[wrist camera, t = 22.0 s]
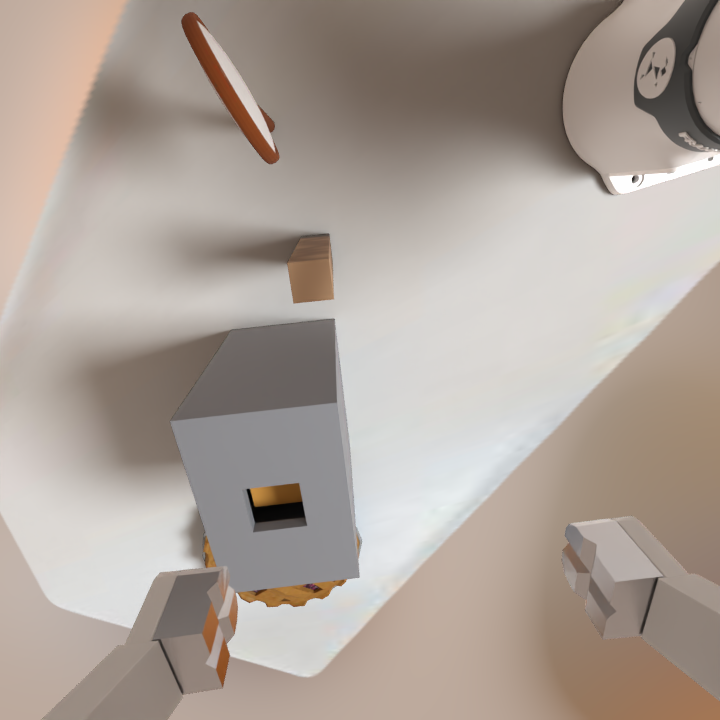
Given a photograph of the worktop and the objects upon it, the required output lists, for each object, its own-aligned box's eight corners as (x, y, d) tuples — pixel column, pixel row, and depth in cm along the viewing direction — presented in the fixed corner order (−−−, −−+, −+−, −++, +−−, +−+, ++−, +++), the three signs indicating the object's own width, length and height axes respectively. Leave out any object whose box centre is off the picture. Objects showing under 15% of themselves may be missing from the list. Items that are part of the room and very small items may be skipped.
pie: (298, 603, 67) (296, 634, 62) (179, 543, 60) (167, 573, 56) (389, 521, 61) (393, 548, 57) (268, 445, 55) (262, 469, 50)
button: (308, 439, 37) (307, 449, 35) (316, 488, 39) (316, 500, 38) (245, 446, 37) (242, 456, 35) (257, 495, 39) (254, 507, 37)
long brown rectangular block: (329, 233, 44) (328, 258, 30) (332, 261, 45) (333, 299, 31) (301, 236, 44) (287, 262, 29) (305, 264, 45) (293, 303, 31)
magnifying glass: (301, 165, 41) (277, 151, 23) (286, 174, 42) (252, 167, 23) (251, 75, 38) (178, -26, 20) (236, 85, 38) (149, -5, 20)
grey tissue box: (334, 318, 48) (337, 402, 30) (349, 446, 55) (359, 577, 37) (231, 329, 48) (169, 421, 29) (260, 456, 55) (225, 593, 37)
